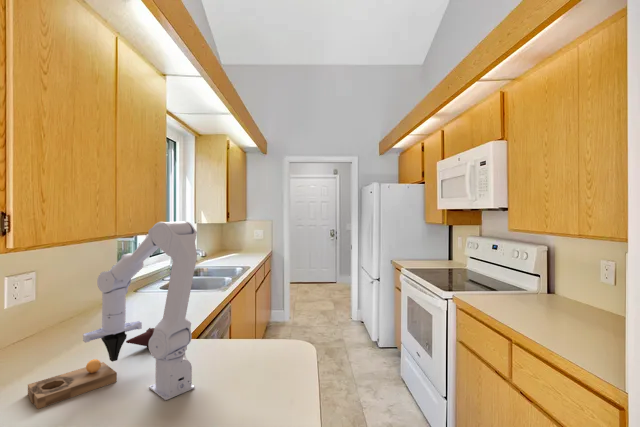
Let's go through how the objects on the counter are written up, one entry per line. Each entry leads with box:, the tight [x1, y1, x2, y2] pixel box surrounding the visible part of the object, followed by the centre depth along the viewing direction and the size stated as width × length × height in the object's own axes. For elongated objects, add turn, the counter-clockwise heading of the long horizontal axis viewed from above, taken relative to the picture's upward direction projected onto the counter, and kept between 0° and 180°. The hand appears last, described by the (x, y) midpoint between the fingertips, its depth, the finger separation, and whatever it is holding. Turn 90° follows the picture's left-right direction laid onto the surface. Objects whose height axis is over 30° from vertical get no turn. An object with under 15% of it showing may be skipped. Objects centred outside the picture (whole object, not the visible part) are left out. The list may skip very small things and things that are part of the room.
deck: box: [27, 361, 118, 410], centre depth 90 cm, size 10×17×2 cm, turn 141°
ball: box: [85, 358, 102, 373], centre depth 93 cm, size 3×3×3 cm
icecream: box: [125, 327, 155, 349], centre depth 116 cm, size 7×8×15 cm
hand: (113, 360), depth 97 cm, fingers closed
